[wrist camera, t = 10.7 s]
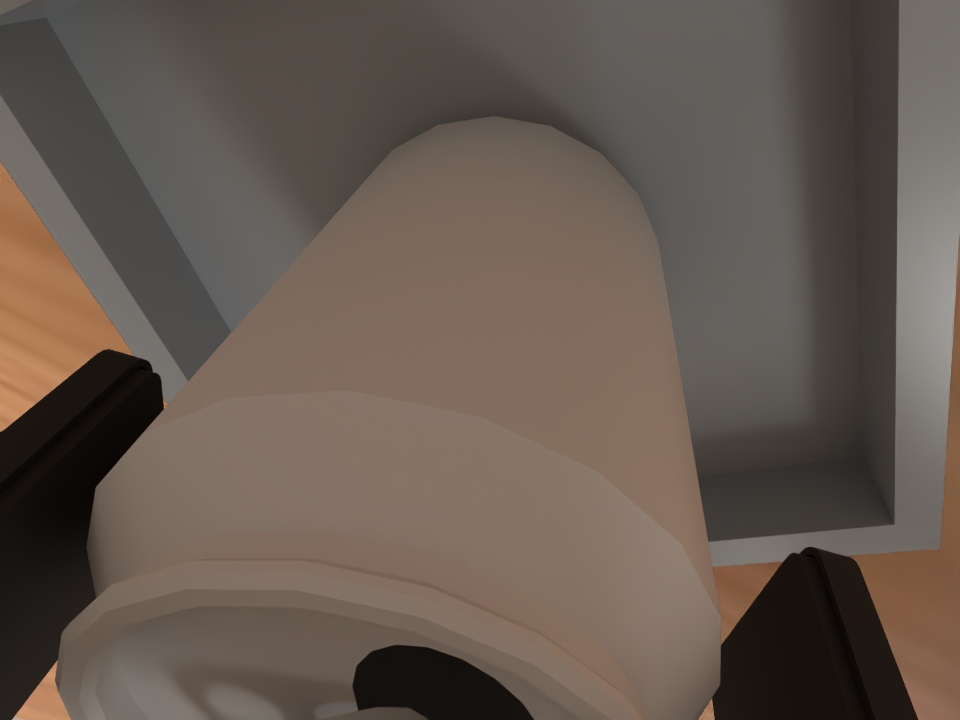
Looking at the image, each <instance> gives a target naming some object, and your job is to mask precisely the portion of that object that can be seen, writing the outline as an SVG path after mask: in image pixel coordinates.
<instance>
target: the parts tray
mask: <svg viewBox="0 0 960 720" xmlns="http://www.w3.org/2000/svg"><path fill="white" fill-rule="evenodd" d="M490 116H497V117H502V118H508V119H514V120H520V121H525V122H531V123H537V124H543V125H548V126H552V127H554V128H555V129H557V130H559V131H561V132H563V133H565V134H566V135H568V136H570V137H572V138H574V139H576V140H578V141H579V142H581V143H583V144H585V145H587V146H589V147H591V148H592V149H594V150H596V151H598V152H600V153H601V154H602V155H603V156H604V157H605V158H606V159H607V160H608V161H609V162H610V164H611V165H612V166H613V167H614V168H615V169H616V170H617V171H618V172H619V173H620V174H621V175H622V177H623V178H624V179H625V180H626V181H627V182H628V183H629V184H630V185H631V186H632V187H633V188H634V190H635V191H636V192H637V193H638V195H639V197H640V199H641V202H642V204H643V206H644V209H645V211H646V213H647V216H648V218H649V221H650V223H651V225H652V228H653V230H654V232H655V235H656V237H657V239H658V244H659V250H660V256H661V262H662V268H663V274H664V280H665V286H666V291H667V297H668V303H669V309H670V315H671V321H672V327H673V333H674V339H675V345H676V351H677V357H678V363H679V369H680V375H681V381H682V387H683V393H684V399H685V405H686V411H687V417H688V423H689V429H690V435H691V441H692V447H693V453H694V459H695V465H696V471H697V477H698V483H699V489H700V495H701V501H702V507H703V513H704V519H705V525H706V531H707V537H708V543H709V549H710V555H711V561H712V567H722V566H734V565H747V564H759V563H771V562H783V561H784V560H785V559H786V558H787V557H788V556H789V555H790V554H791V553H798V554H799V553H800V552H801V551H802V550H803V549H805V548H807V547H815V548H818V549H822V550H825V551H829V552H833V553H836V554H840V555H843V556H857V555H869V554H882V553H894V552H906V551H918V550H931V549H940V546H941V530H942V513H943V496H944V480H945V463H946V446H947V430H948V413H949V396H950V380H951V363H952V346H953V330H954V313H955V296H956V280H957V263H958V246H959V230H960V0H0V161H1V163H2V164H3V166H4V167H5V169H6V170H7V172H8V173H9V174H10V176H11V177H12V179H13V180H14V182H15V183H16V185H17V186H18V188H19V189H20V190H21V192H22V193H23V195H24V196H25V198H26V199H27V201H28V202H29V204H30V205H31V206H32V208H33V209H34V211H35V212H36V214H37V215H38V217H39V218H40V219H41V221H42V222H43V224H44V225H45V227H46V228H47V230H48V231H49V233H50V234H51V235H52V237H53V238H54V240H55V241H56V243H57V244H58V246H59V247H60V248H61V250H62V251H63V253H64V254H65V256H66V257H67V259H68V260H69V262H70V263H71V264H72V266H73V267H74V269H75V270H76V272H77V273H78V275H79V276H80V278H81V279H82V280H83V282H84V283H85V285H86V286H87V288H88V289H89V291H90V292H91V293H92V295H93V296H94V298H95V299H96V301H97V302H98V304H99V305H100V307H101V308H102V309H103V311H104V312H105V314H106V315H107V317H108V318H109V320H110V321H111V322H112V324H113V325H114V327H115V328H116V330H117V331H118V333H119V334H120V336H121V337H122V338H123V340H124V341H125V343H126V344H127V346H128V347H129V349H130V350H131V352H132V353H133V354H134V356H135V357H138V358H142V359H145V360H147V361H149V362H150V364H151V365H152V369H153V372H154V373H157V374H159V375H160V377H161V381H162V393H163V398H164V399H165V401H166V402H167V404H169V403H170V402H171V401H172V400H173V398H174V397H175V396H176V395H177V394H178V393H179V392H180V390H181V389H182V388H183V387H184V386H185V385H186V384H187V383H188V381H189V380H190V379H191V378H192V377H193V376H194V375H195V373H196V372H197V371H198V370H199V369H200V368H201V367H202V365H203V364H204V363H205V362H206V361H207V360H208V359H209V358H210V356H211V355H212V354H213V353H214V352H215V351H216V350H217V348H218V347H219V346H220V345H221V344H222V343H223V342H224V340H225V339H226V338H227V337H228V336H229V335H230V334H231V333H232V331H233V330H234V329H235V328H236V327H237V326H238V325H239V323H240V322H241V321H242V320H243V319H244V318H245V317H246V315H247V314H248V313H249V312H250V311H251V310H252V309H253V308H254V306H255V305H256V304H257V303H258V302H259V301H260V300H261V298H262V297H263V296H264V295H265V294H266V293H267V292H268V290H269V289H270V288H271V287H272V286H273V285H274V284H275V283H276V281H277V280H278V279H279V278H280V277H281V276H282V275H283V273H284V272H285V271H286V270H287V269H288V268H289V267H290V265H291V264H292V263H293V262H294V261H295V260H296V259H297V257H298V256H299V255H300V254H301V253H302V252H303V251H304V250H305V248H306V247H307V246H308V245H309V244H310V243H311V242H312V240H313V239H314V238H315V237H316V236H317V235H318V234H319V232H320V231H321V230H322V229H323V228H324V227H325V226H326V225H327V223H328V222H329V221H330V220H331V219H332V218H333V217H334V215H335V214H336V213H337V212H338V211H339V210H340V209H341V207H342V206H343V205H344V204H345V203H346V202H347V201H348V200H349V198H350V197H351V196H352V195H353V194H354V193H355V192H356V190H357V189H358V188H359V187H360V186H361V185H362V184H363V182H364V181H365V180H366V179H367V178H368V177H369V176H370V175H371V173H372V172H373V171H374V170H375V169H376V168H377V167H378V165H379V164H380V163H381V162H382V161H383V160H384V159H385V157H386V156H387V155H388V154H389V153H390V152H391V151H392V150H393V149H395V148H396V147H398V146H400V145H402V144H404V143H406V142H407V141H409V140H411V139H413V138H415V137H417V136H419V135H420V134H422V133H424V132H426V131H428V130H430V129H431V128H433V127H435V126H437V125H440V124H446V123H452V122H459V121H465V120H471V119H478V118H484V117H490Z"/></svg>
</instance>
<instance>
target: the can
mask: <svg viewBox="0 0 960 720" xmlns="http://www.w3.org/2000/svg"><path fill="white" fill-rule="evenodd" d="M86 549H87V554H88V559H89V564H90V569H91V574H92V579H93V584H94V589H95V594H96V599H95V600H94V601H93V602H92V603H91V604H90V605H88V606H87V607H86V608H85V609H84V610H83V611H82V612H81V613H80V614H79V615H78V616H77V617H76V618H75V619H73V620H72V621H71V622H70V623H69V624H68V625H67V627H66V628H65V629H64V631H63V632H62V634H61V642H60V649H59V656H58V663H57V671H56V678H55V682H56V685H57V688H58V692H59V694H60V697H61V699H62V701H63V703H64V705H65V707H66V709H67V712H68V714H69V716H70V718H71V720H698V719H699V717H700V716H701V714H702V712H703V711H704V709H705V708H706V706H707V705H708V703H709V701H710V700H711V698H712V697H713V695H714V694H715V692H716V690H717V689H718V687H719V686H720V663H721V615H720V609H719V603H718V597H717V591H716V585H715V579H714V573H713V567H712V561H711V555H710V549H709V543H708V537H707V531H706V525H705V519H704V513H703V507H702V501H701V495H700V489H699V483H698V477H697V471H696V465H695V459H694V453H693V447H692V441H691V435H690V429H689V423H688V417H687V411H686V405H685V399H684V393H683V387H682V381H681V375H680V369H679V363H678V357H677V351H676V345H675V339H674V333H673V327H672V321H671V315H670V309H669V303H668V297H667V291H666V286H665V280H664V274H663V268H662V262H661V256H660V250H659V244H658V239H657V237H656V235H655V232H654V230H653V228H652V225H651V223H650V221H649V218H648V216H647V213H646V211H645V209H644V206H643V204H642V202H641V199H640V197H639V195H638V193H637V192H636V191H635V190H634V188H633V187H632V186H631V185H630V184H629V183H628V182H627V181H626V180H625V179H624V178H623V177H622V175H621V174H620V173H619V172H618V171H617V170H616V169H615V168H614V167H613V166H612V165H611V164H610V162H609V161H608V160H607V159H606V158H605V157H604V156H603V155H602V154H601V153H600V152H598V151H596V150H594V149H592V148H591V147H589V146H587V145H585V144H583V143H581V142H579V141H578V140H576V139H574V138H572V137H570V136H568V135H566V134H565V133H563V132H561V131H559V130H557V129H555V128H554V127H552V126H548V125H543V124H537V123H531V122H525V121H520V120H514V119H508V118H502V117H497V116H490V117H484V118H478V119H471V120H465V121H459V122H452V123H446V124H440V125H437V126H435V127H433V128H431V129H430V130H428V131H426V132H424V133H422V134H420V135H419V136H417V137H415V138H413V139H411V140H409V141H407V142H406V143H404V144H402V145H400V146H398V147H396V148H395V149H393V150H392V151H391V152H390V153H389V154H388V155H387V156H386V157H385V159H384V160H383V161H382V162H381V163H380V164H379V165H378V167H377V168H376V169H375V170H374V171H373V172H372V173H371V175H370V176H369V177H368V178H367V179H366V180H365V181H364V182H363V184H362V185H361V186H360V187H359V188H358V189H357V190H356V192H355V193H354V194H353V195H352V196H351V197H350V198H349V200H348V201H347V202H346V203H345V204H344V205H343V206H342V207H341V209H340V210H339V211H338V212H337V213H336V214H335V215H334V217H333V218H332V219H331V220H330V221H329V222H328V223H327V225H326V226H325V227H324V228H323V229H322V230H321V231H320V232H319V234H318V235H317V236H316V237H315V238H314V239H313V240H312V242H311V243H310V244H309V245H308V246H307V247H306V248H305V250H304V251H303V252H302V253H301V254H300V255H299V256H298V257H297V259H296V260H295V261H294V262H293V263H292V264H291V265H290V267H289V268H288V269H287V270H286V271H285V272H284V273H283V275H282V276H281V277H280V278H279V279H278V280H277V281H276V283H275V284H274V285H273V286H272V287H271V288H270V289H269V290H268V292H267V293H266V294H265V295H264V296H263V297H262V298H261V300H260V301H259V302H258V303H257V304H256V305H255V306H254V308H253V309H252V310H251V311H250V312H249V313H248V314H247V315H246V317H245V318H244V319H243V320H242V321H241V322H240V323H239V325H238V326H237V327H236V328H235V329H234V330H233V331H232V333H231V334H230V335H229V336H228V337H227V338H226V339H225V340H224V342H223V343H222V344H221V345H220V346H219V347H218V348H217V350H216V351H215V352H214V353H213V354H212V355H211V356H210V358H209V359H208V360H207V361H206V362H205V363H204V364H203V365H202V367H201V368H200V369H199V370H198V371H197V372H196V373H195V375H194V376H193V377H192V378H191V379H190V380H189V381H188V383H187V384H186V385H185V386H184V387H183V388H182V389H181V390H180V392H179V393H178V394H177V395H176V396H175V397H174V398H173V400H172V401H171V402H170V403H169V404H168V405H167V406H166V408H165V409H164V410H163V411H162V412H161V413H160V414H159V415H158V417H157V418H156V419H155V420H154V421H153V422H152V423H151V425H150V426H149V427H148V428H147V429H146V430H145V431H144V433H143V434H142V435H141V436H140V437H139V438H138V439H137V441H136V442H135V443H134V444H133V445H132V446H131V447H130V449H129V450H128V451H127V452H126V453H125V454H124V455H123V457H122V458H121V459H120V460H119V461H118V462H117V464H116V465H115V466H114V467H113V468H112V469H111V470H110V472H109V473H108V474H107V475H106V476H105V477H104V478H103V480H102V481H101V482H100V483H99V484H98V485H97V486H96V490H95V496H94V502H93V509H92V515H91V521H90V528H89V534H88V540H87V547H86Z"/></svg>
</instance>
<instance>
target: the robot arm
mask: <svg viewBox="0 0 960 720" xmlns="http://www.w3.org/2000/svg"><path fill="white" fill-rule="evenodd" d="M163 410H164V405H163V393H162V381H161V377H160V375H159V374H157V373H154V372H153V369H152V365H151V364H150V362H149V361H147V360H145V359H142V358H138V357H135V356H131V355H127V354H124V353H120V352H117V351H113V350H110V349H108V350H103V351H101V352H100V353H98V354H97V355H95V356H94V357H93V358H92V359H90V360H89V361H88V362H87V363H86V364H84V365H83V366H82V367H81V368H79V369H78V370H77V371H76V372H75V373H73V374H72V375H71V376H70V377H68V378H67V379H66V380H65V381H64V382H62V383H61V384H60V385H59V386H57V387H56V388H55V389H54V390H53V391H51V392H50V393H49V394H48V395H46V396H45V397H44V398H43V399H42V400H40V401H39V402H38V403H37V404H35V405H34V406H33V407H32V408H31V409H29V410H28V411H27V412H26V413H24V414H23V415H22V416H21V417H19V418H18V419H17V420H16V421H15V422H13V423H12V424H11V425H10V426H8V427H7V428H6V429H5V430H3V431H2V432H0V720H12V719H13V717H14V716H15V715H16V714H17V712H18V711H19V710H20V708H21V707H22V706H23V704H24V703H25V702H26V700H27V699H28V698H29V696H30V695H31V694H32V693H33V691H34V690H35V689H36V687H37V686H38V685H39V683H40V682H41V681H42V679H43V678H44V677H45V676H46V674H47V673H48V672H49V670H50V669H51V668H52V666H53V665H54V664H55V662H56V661H57V660H58V656H59V649H60V642H61V634H62V632H63V631H64V629H65V628H66V627H67V625H68V624H69V623H70V622H71V621H72V620H73V619H75V618H76V617H77V616H78V615H79V614H80V613H81V612H82V611H83V610H84V609H85V608H86V607H87V606H88V605H90V604H91V603H92V602H93V601H94V600H95V599H96V594H95V589H94V584H93V579H92V574H91V569H90V564H89V559H88V554H87V549H86V547H87V540H88V534H89V528H90V521H91V515H92V509H93V502H94V496H95V490H96V486H97V485H98V484H99V483H100V482H101V481H102V480H103V478H104V477H105V476H106V475H107V474H108V473H109V472H110V470H111V469H112V468H113V467H114V466H115V465H116V464H117V462H118V461H119V460H120V459H121V458H122V457H123V455H124V454H125V453H126V452H127V451H128V450H129V449H130V447H131V446H132V445H133V444H134V443H135V442H136V441H137V439H138V438H139V437H140V436H141V435H142V434H143V433H144V431H145V430H146V429H147V428H148V427H149V426H150V425H151V423H152V422H153V421H154V420H155V419H156V418H157V417H158V415H159V414H160V413H161V412H162V411H163ZM712 701H713V709H714V716H715V720H918V718H917V715H916V713H915V710H914V708H913V705H912V702H911V700H910V697H909V695H908V692H907V689H906V687H905V684H904V682H903V679H902V676H901V674H900V671H899V669H898V666H897V663H896V661H895V658H894V656H893V653H892V651H891V648H890V645H889V643H888V640H887V638H886V635H885V632H884V630H883V627H882V625H881V622H880V619H879V617H878V614H877V612H876V609H875V606H874V604H873V601H872V599H871V596H870V593H869V591H868V588H867V586H866V583H865V580H864V578H863V575H862V573H861V570H860V568H859V566H858V564H857V562H856V561H855V560H853V559H852V558H850V557H847V556H843V555H840V554H836V553H833V552H829V551H825V550H822V549H818V548H815V547H807V548H805V549H803V550H802V551H801V552H800V553H799V554H798V553H791V554H790V555H789V556H788V557H787V558H786V559H785V560H784V562H783V563H782V564H781V566H780V567H779V568H778V570H777V571H776V572H775V574H774V575H773V576H772V578H771V579H770V580H769V582H768V583H767V584H766V586H765V587H764V588H763V590H762V591H761V593H760V594H759V595H758V597H757V598H756V599H755V601H754V602H753V603H752V605H751V606H750V607H749V609H748V610H747V611H746V613H745V614H744V615H743V617H742V618H741V619H740V621H739V622H738V623H737V625H736V626H735V627H734V629H733V630H732V632H731V633H730V634H729V636H728V637H727V638H726V640H725V641H724V642H723V644H722V645H721V663H720V686H719V687H718V689H717V690H716V692H715V694H714V695H713V697H712Z"/></svg>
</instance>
